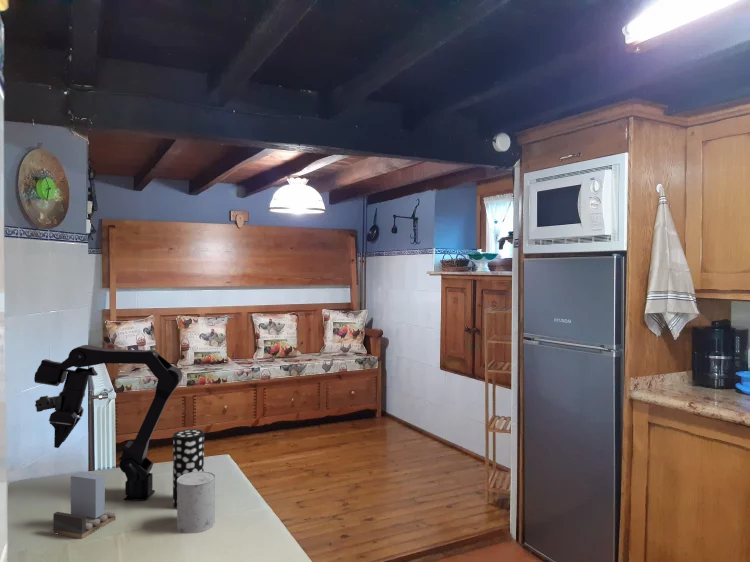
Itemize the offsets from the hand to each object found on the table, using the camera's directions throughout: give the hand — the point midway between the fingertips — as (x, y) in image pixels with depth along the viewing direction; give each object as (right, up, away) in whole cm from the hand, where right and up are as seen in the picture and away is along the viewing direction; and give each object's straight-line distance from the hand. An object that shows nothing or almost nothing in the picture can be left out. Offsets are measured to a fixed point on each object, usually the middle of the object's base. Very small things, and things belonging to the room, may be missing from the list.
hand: (59, 444), depth 152 cm
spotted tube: (+36, -18, +2) cm, 40 cm away
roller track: (+14, -17, -12) cm, 25 cm away
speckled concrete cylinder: (+42, -18, -11) cm, 47 cm away
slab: (+14, -14, -12) cm, 23 cm away
